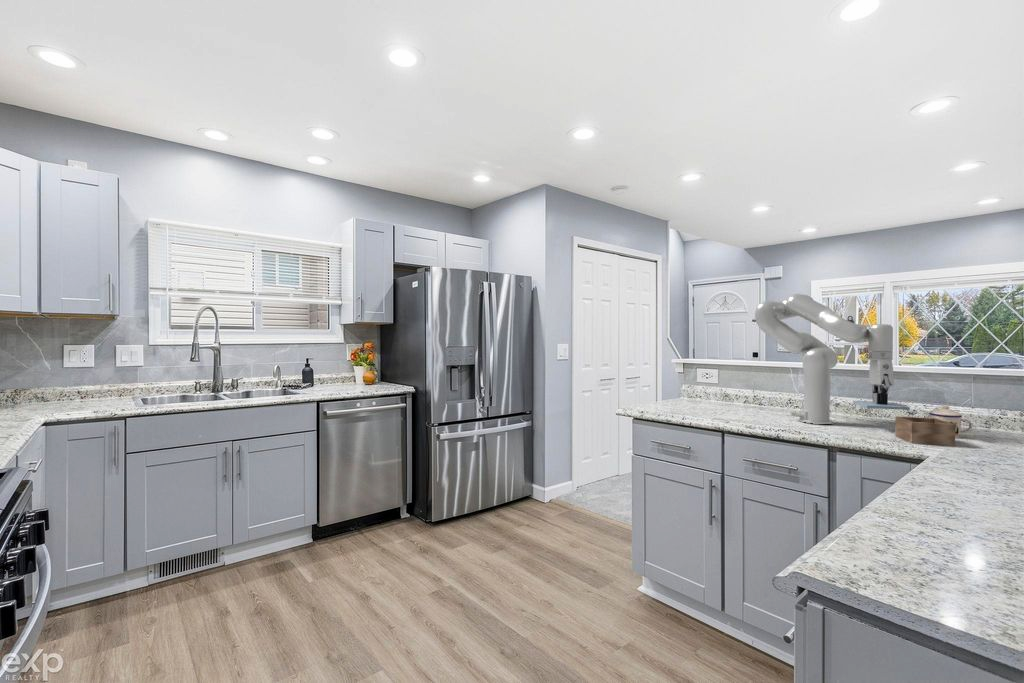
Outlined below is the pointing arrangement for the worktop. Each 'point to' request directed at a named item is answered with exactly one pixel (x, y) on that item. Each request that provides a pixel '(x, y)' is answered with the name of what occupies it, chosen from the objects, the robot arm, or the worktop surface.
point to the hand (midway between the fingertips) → (879, 402)
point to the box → (925, 431)
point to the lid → (880, 406)
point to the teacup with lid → (950, 419)
